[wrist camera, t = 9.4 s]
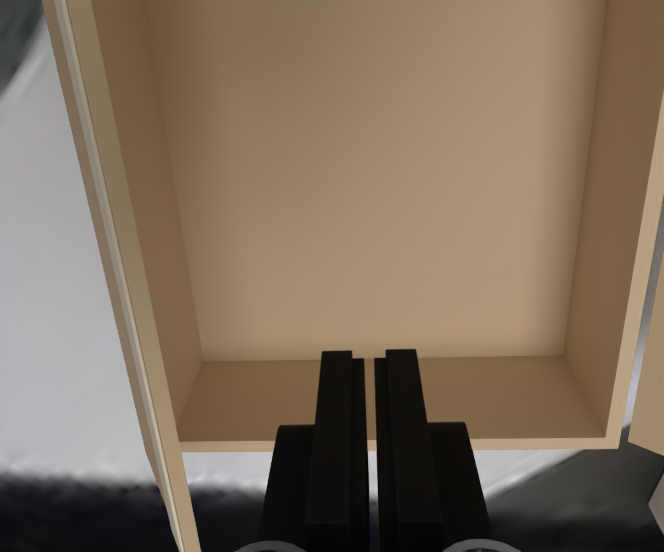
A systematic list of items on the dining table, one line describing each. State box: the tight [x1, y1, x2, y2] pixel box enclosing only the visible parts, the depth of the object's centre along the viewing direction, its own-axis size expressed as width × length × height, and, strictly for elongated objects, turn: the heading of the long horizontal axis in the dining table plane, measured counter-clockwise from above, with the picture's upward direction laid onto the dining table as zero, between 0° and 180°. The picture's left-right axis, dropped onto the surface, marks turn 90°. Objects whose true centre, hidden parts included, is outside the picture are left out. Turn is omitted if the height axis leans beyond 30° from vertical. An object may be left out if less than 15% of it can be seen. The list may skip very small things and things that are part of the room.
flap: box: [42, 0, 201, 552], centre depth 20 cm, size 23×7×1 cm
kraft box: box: [91, 0, 664, 452], centre depth 26 cm, size 24×20×7 cm
